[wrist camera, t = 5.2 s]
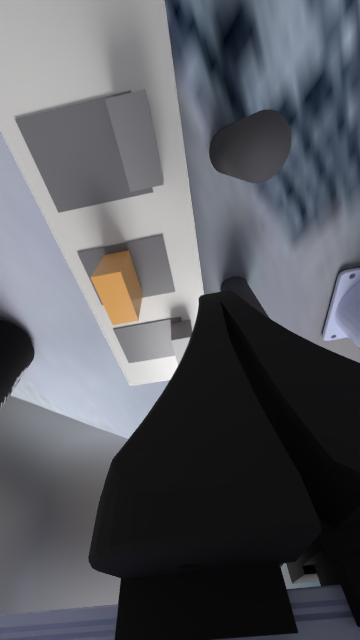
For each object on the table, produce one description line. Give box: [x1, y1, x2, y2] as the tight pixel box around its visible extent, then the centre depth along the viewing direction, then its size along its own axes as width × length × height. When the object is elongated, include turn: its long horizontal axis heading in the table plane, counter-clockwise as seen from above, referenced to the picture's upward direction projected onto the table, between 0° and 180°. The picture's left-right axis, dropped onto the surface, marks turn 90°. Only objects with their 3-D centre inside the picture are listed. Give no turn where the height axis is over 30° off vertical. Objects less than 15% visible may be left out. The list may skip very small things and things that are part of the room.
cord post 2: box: [221, 277, 270, 319], centre depth 18 cm, size 2×2×6 cm
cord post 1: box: [210, 110, 291, 183], centre depth 12 cm, size 2×2×6 cm
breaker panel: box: [0, 0, 204, 386], centre depth 15 cm, size 8×22×6 cm, turn 10°
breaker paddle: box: [91, 250, 143, 325], centre depth 13 cm, size 2×3×3 cm, turn 11°
